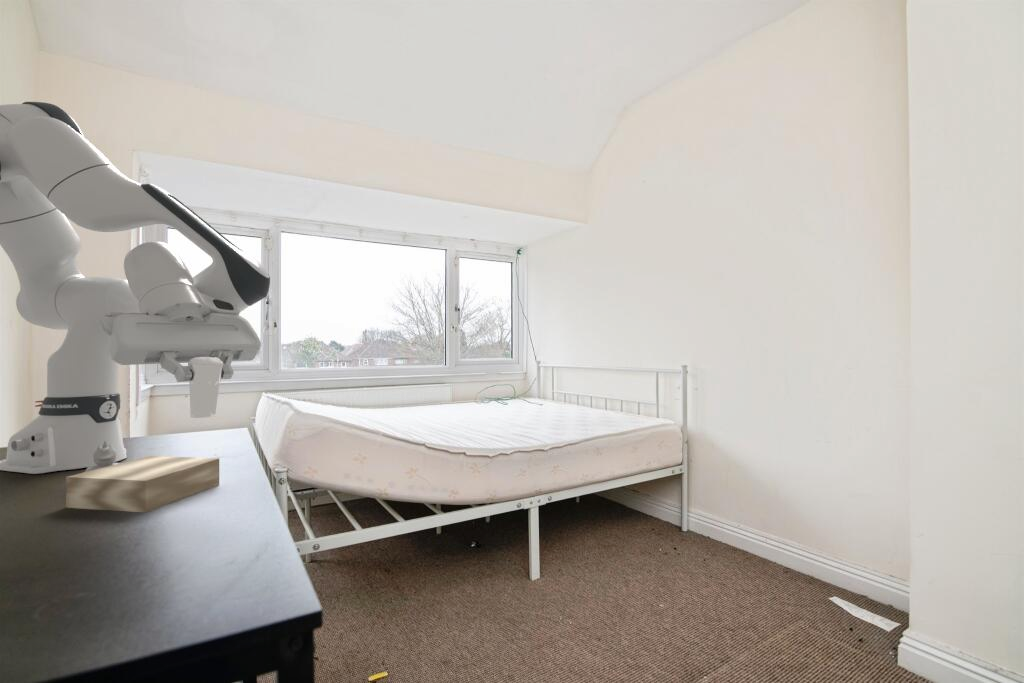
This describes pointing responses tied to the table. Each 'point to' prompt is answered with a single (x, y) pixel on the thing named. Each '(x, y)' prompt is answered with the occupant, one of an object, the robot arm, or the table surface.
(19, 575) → the table surface
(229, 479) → the table surface
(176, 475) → the block
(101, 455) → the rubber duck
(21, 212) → the robot arm
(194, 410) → the milkshake
